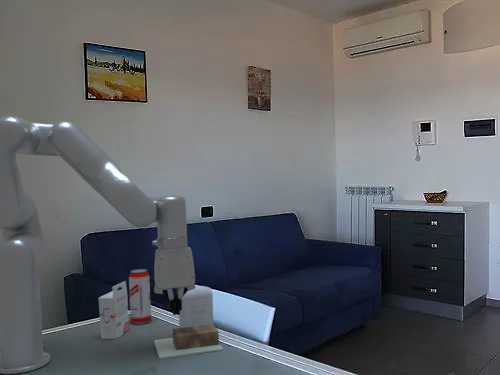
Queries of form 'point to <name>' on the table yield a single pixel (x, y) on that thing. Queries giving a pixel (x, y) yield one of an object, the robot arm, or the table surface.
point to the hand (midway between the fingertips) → (176, 313)
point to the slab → (195, 337)
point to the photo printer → (197, 307)
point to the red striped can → (139, 296)
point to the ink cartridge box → (114, 312)
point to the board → (168, 350)
